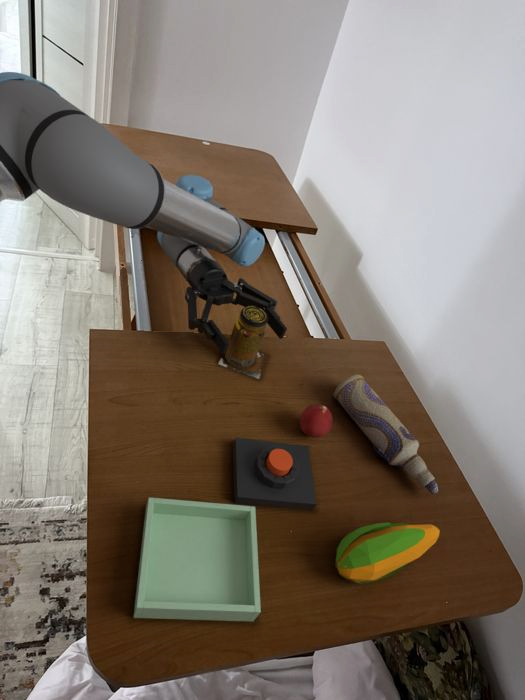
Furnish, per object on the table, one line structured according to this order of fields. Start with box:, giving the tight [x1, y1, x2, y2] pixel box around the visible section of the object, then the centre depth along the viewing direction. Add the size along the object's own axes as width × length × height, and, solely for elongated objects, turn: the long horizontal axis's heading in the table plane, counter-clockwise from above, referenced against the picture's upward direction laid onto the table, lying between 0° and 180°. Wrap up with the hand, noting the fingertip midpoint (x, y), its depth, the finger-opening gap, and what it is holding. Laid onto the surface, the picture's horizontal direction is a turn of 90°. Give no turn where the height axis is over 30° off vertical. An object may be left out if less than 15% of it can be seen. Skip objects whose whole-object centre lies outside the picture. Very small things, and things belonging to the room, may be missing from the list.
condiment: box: [217, 306, 268, 380], centre depth 97 cm, size 7×8×12 cm
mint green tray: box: [133, 497, 262, 623], centre depth 69 cm, size 16×15×4 cm
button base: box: [232, 437, 318, 511], centre depth 82 cm, size 13×11×4 cm
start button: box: [266, 449, 293, 476], centre depth 81 cm, size 4×4×2 cm
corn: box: [335, 521, 441, 585], centre depth 77 cm, size 7×8×20 cm
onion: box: [299, 403, 334, 438], centre depth 90 cm, size 6×6×8 cm
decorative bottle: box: [332, 374, 440, 495], centre depth 93 cm, size 26×8×7 cm, turn 33°
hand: (255, 341), depth 96 cm, fingers open, 13 cm apart
